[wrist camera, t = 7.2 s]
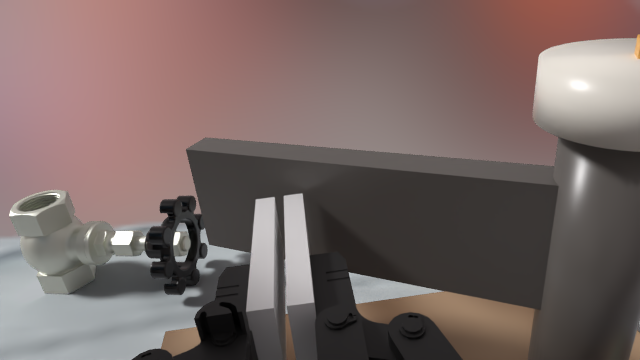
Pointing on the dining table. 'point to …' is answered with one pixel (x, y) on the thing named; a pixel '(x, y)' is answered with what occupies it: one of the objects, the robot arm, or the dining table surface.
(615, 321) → the dark piece
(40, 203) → the valve
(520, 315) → the board
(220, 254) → the dining table surface
